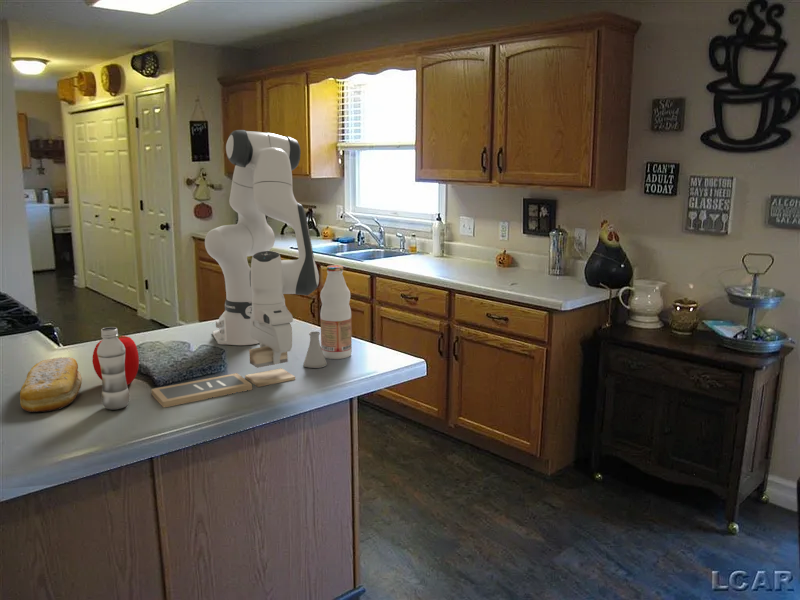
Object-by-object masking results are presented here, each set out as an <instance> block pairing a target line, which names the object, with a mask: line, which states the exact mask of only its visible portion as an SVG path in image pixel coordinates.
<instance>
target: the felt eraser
mask: <svg viewBox="0 0 800 600" xmlns="http://www.w3.org/2000/svg"><path fill="white" fill-rule="evenodd" d="M248 351H249V355H248V356H249V364H250V365H252V366H253V367H255V368H256V369H257V368H258V369H259V368H263V367H268V366H273V365H276V364H274V363H272V357H273V351H272V349H271V348H270V347H268V346H265V347H260V346H259V347H254V348H249V349H248ZM288 358H289V357H288V352H283V353H281V356H280V363H279V364H283V363H288V362H289V360H288ZM279 364H278V365H279Z"/></svg>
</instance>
